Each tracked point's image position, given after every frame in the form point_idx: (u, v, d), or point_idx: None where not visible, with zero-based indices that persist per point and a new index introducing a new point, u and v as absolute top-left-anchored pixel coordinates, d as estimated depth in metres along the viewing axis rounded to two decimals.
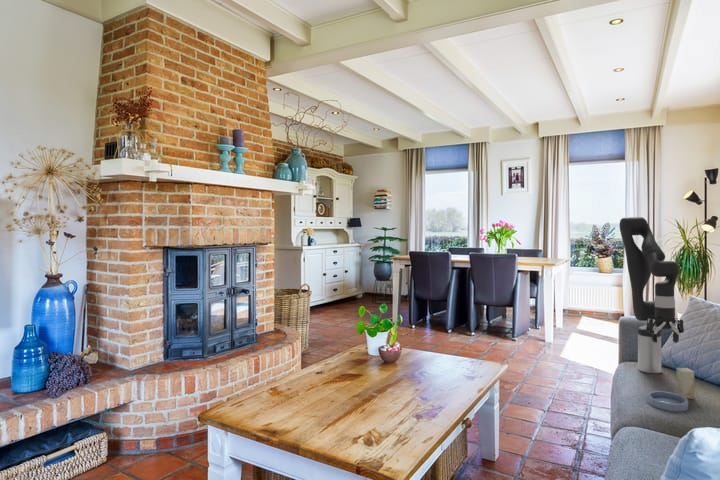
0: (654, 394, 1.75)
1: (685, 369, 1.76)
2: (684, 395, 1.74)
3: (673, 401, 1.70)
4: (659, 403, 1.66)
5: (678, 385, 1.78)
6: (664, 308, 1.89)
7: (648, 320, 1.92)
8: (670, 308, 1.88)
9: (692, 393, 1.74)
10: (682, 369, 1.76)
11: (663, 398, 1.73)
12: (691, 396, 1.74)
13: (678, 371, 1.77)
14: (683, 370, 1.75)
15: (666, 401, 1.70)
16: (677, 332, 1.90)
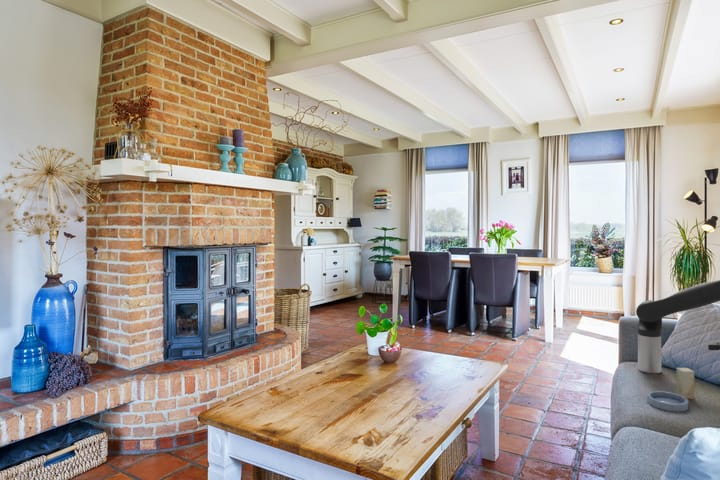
0: (654, 394, 1.75)
1: (685, 369, 1.76)
2: (684, 395, 1.74)
3: (673, 401, 1.70)
4: (659, 403, 1.66)
5: (678, 385, 1.78)
6: None
7: None
8: None
9: (692, 393, 1.74)
10: (682, 369, 1.76)
11: (663, 398, 1.73)
12: (691, 396, 1.74)
13: (678, 371, 1.77)
14: (683, 370, 1.75)
15: (666, 401, 1.70)
16: None
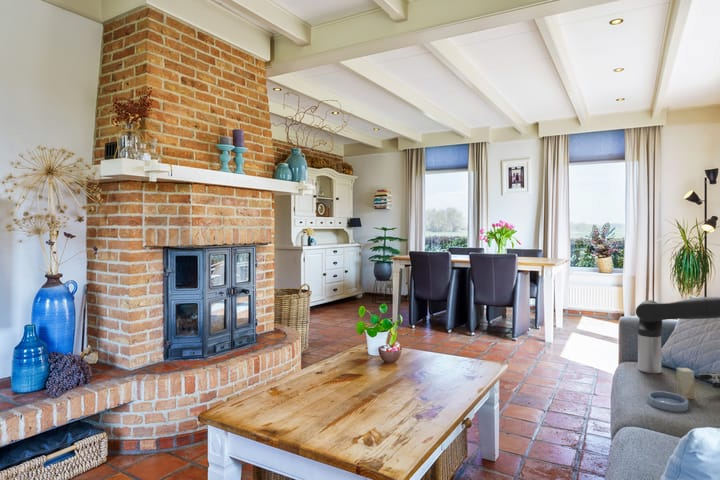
0: (654, 394, 1.75)
1: (685, 369, 1.76)
2: (684, 395, 1.74)
3: (673, 401, 1.70)
4: (659, 403, 1.66)
5: (678, 385, 1.78)
6: None
7: None
8: None
9: (692, 393, 1.74)
10: (682, 369, 1.76)
11: (663, 398, 1.73)
12: (691, 396, 1.74)
13: (678, 371, 1.77)
14: (683, 370, 1.75)
15: (666, 401, 1.70)
16: None
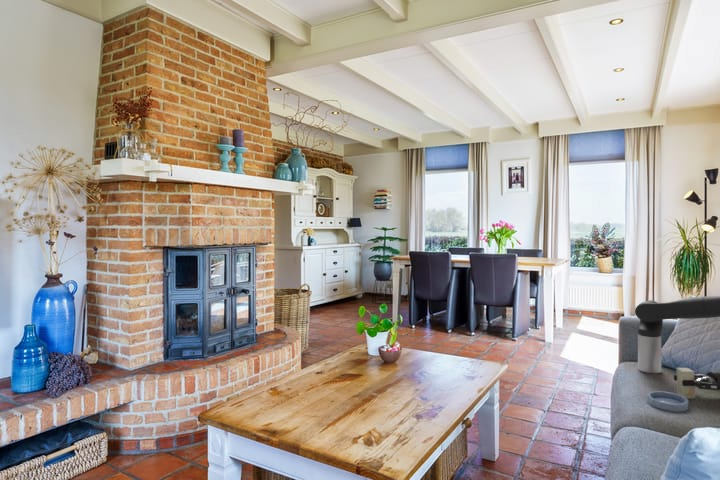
0: (654, 394, 1.75)
1: (685, 369, 1.76)
2: (684, 395, 1.74)
3: (673, 401, 1.70)
4: (659, 403, 1.66)
5: (678, 385, 1.78)
6: None
7: (714, 386, 1.69)
8: None
9: (692, 393, 1.74)
10: (682, 369, 1.76)
11: (663, 398, 1.73)
12: (691, 396, 1.74)
13: (678, 371, 1.77)
14: (683, 370, 1.75)
15: (666, 401, 1.70)
16: None
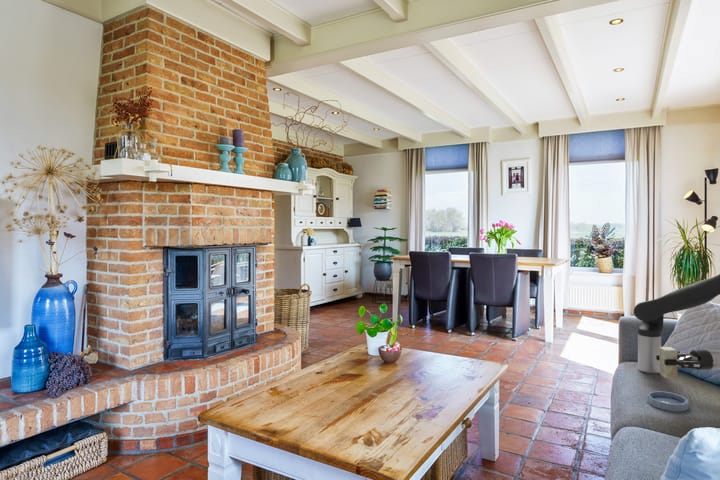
0: (654, 394, 1.75)
1: (668, 348, 1.69)
2: (666, 374, 1.67)
3: (673, 401, 1.70)
4: (659, 403, 1.66)
5: (660, 365, 1.71)
6: (709, 369, 1.66)
7: (697, 365, 1.62)
8: None
9: (675, 372, 1.67)
10: (664, 348, 1.69)
11: (663, 398, 1.73)
12: (674, 376, 1.67)
13: (660, 350, 1.70)
14: (665, 349, 1.68)
15: (666, 401, 1.70)
16: None
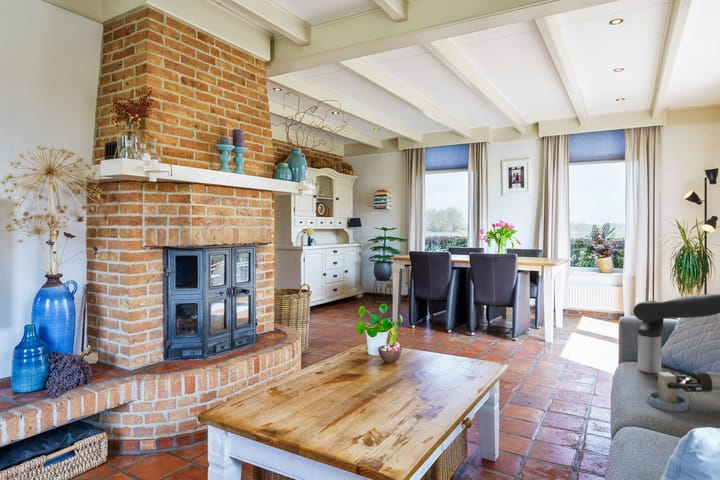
0: (654, 394, 1.75)
1: (667, 374, 1.70)
2: (666, 400, 1.68)
3: None
4: (659, 403, 1.66)
5: (659, 390, 1.72)
6: None
7: (699, 388, 1.62)
8: None
9: (674, 398, 1.67)
10: (664, 374, 1.70)
11: None
12: (673, 402, 1.68)
13: (660, 376, 1.71)
14: (665, 375, 1.69)
15: None
16: None
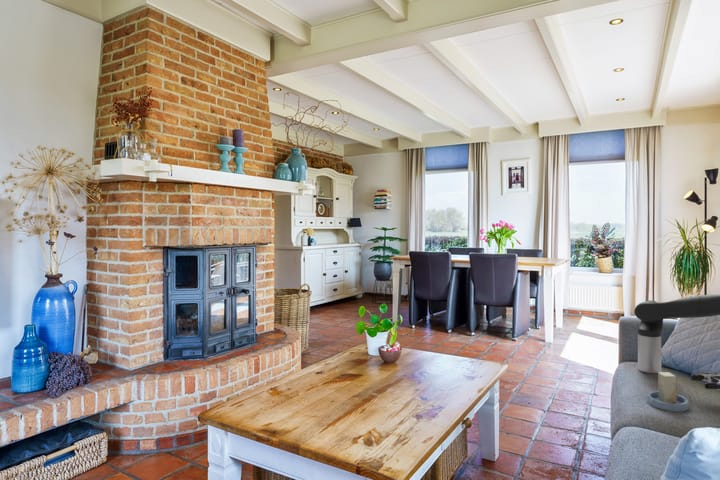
0: (654, 394, 1.75)
1: (667, 374, 1.70)
2: (666, 400, 1.68)
3: None
4: (659, 403, 1.66)
5: (659, 390, 1.72)
6: None
7: None
8: None
9: (674, 398, 1.67)
10: (664, 374, 1.70)
11: None
12: (673, 402, 1.68)
13: (660, 376, 1.71)
14: (665, 375, 1.69)
15: None
16: None
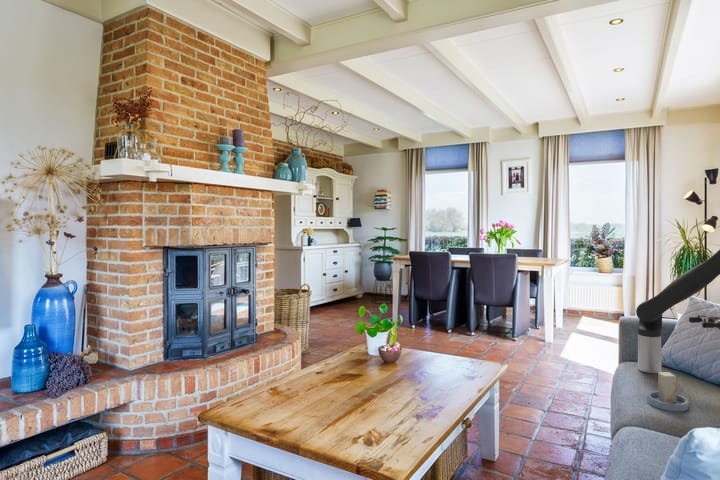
0: (654, 394, 1.75)
1: (667, 374, 1.70)
2: (666, 400, 1.68)
3: None
4: (659, 403, 1.66)
5: (659, 390, 1.72)
6: None
7: None
8: None
9: (674, 398, 1.67)
10: (664, 374, 1.70)
11: None
12: (673, 402, 1.68)
13: (660, 376, 1.71)
14: (665, 375, 1.69)
15: None
16: (701, 322, 1.80)
